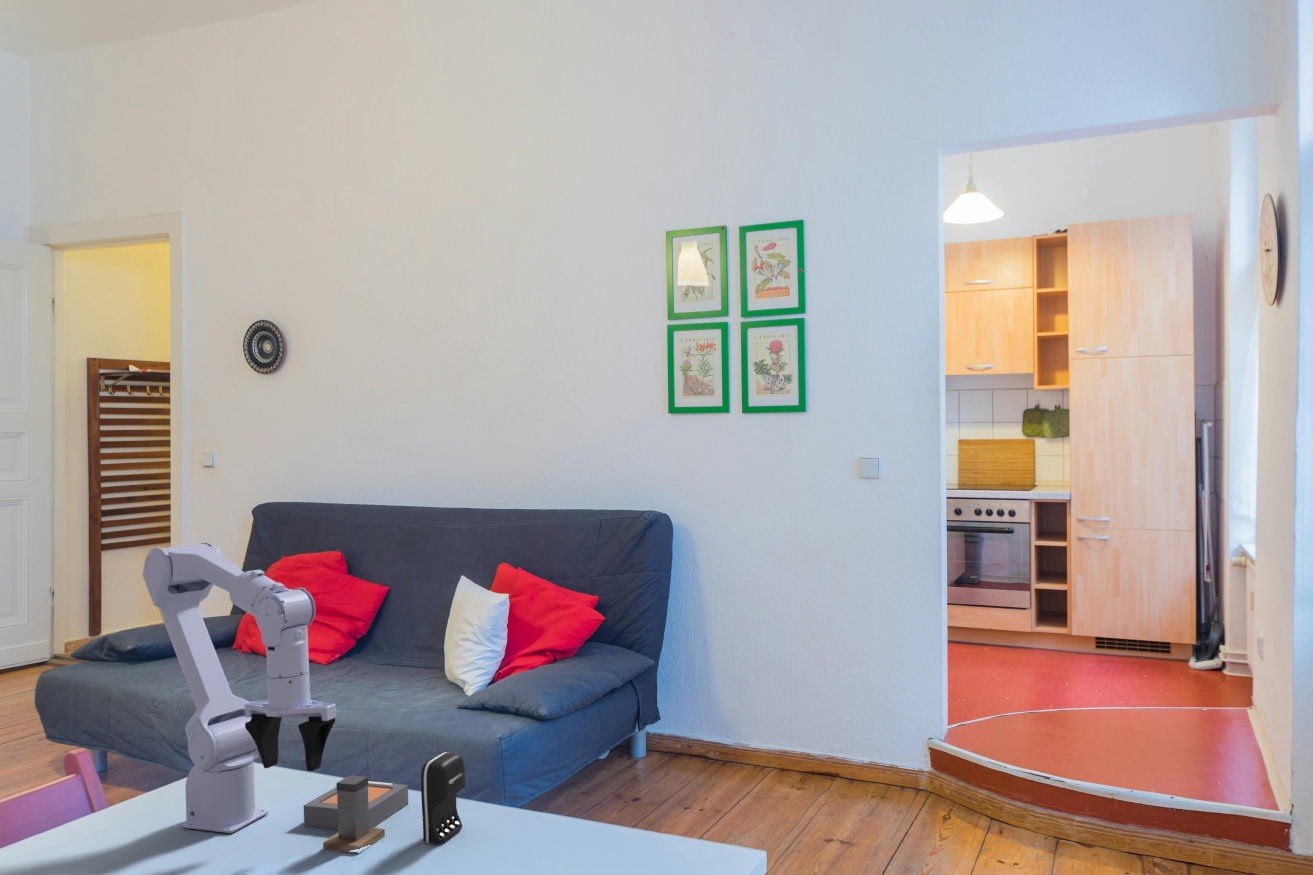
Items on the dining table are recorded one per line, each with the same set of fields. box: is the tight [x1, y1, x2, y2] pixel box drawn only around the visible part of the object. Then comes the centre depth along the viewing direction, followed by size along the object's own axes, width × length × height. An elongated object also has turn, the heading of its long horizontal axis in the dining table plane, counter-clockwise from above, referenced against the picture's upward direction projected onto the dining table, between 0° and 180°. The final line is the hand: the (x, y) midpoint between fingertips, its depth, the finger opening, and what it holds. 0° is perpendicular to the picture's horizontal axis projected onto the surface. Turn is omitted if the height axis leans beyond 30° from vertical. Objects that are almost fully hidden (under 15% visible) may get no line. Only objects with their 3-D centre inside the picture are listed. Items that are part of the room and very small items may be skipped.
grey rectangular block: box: [335, 775, 369, 841], centre depth 131 cm, size 3×3×8 cm
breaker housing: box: [303, 780, 409, 830], centre depth 142 cm, size 11×11×3 cm
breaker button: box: [321, 787, 391, 804], centre depth 142 cm, size 7×7×2 cm
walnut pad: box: [322, 827, 386, 853], centre depth 131 cm, size 6×6×1 cm
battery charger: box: [420, 751, 466, 845], centre depth 132 cm, size 7×4×11 cm, turn 161°
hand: (292, 767), depth 133 cm, fingers open, 7 cm apart
